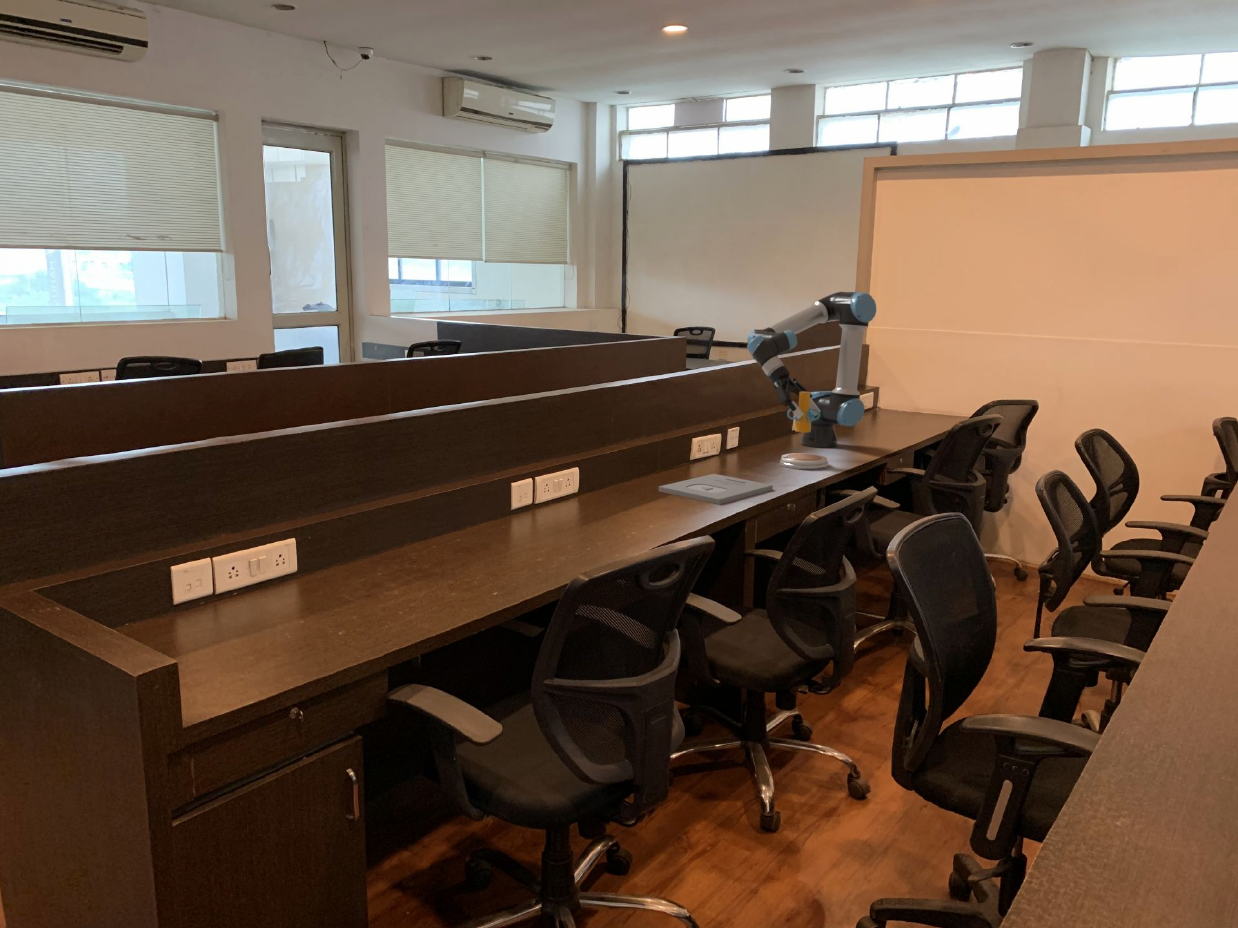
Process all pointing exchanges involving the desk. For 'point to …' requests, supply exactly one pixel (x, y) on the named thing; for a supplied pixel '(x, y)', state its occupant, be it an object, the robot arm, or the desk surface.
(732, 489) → the award plaque
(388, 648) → the desk surface
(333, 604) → the desk surface
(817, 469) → the base
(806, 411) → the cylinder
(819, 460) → the platter
